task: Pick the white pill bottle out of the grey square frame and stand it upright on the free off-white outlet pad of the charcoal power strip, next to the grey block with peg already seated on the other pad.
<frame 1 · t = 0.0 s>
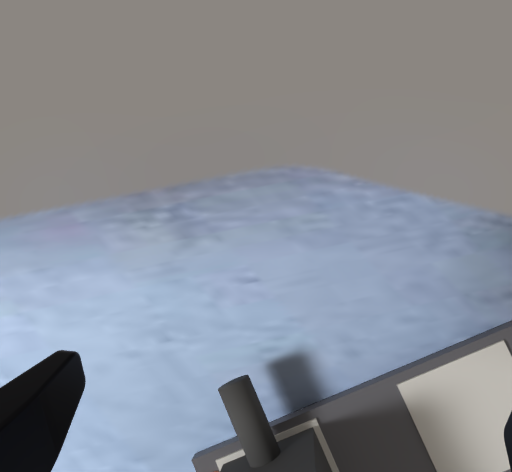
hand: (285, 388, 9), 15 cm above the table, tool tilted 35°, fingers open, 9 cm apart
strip: (377, 447, 23), on the table
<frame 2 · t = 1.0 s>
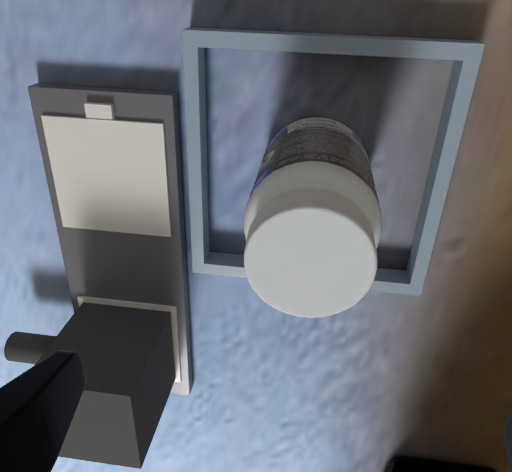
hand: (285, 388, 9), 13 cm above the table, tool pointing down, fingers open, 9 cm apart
grey square frame: (314, 167, 21), on the table
pill bottle: (314, 166, 21), resting in grey square frame
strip: (128, 259, 25), on the table
grey block with peg: (132, 339, 26), resting on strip
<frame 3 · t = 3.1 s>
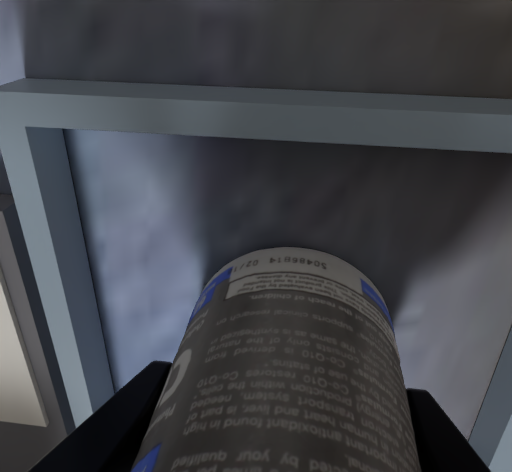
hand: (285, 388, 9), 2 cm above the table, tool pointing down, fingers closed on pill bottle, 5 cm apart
grey square frame: (291, 324, 11), on the table
pill bottle: (291, 319, 11), resting in grey square frame, touching gripper
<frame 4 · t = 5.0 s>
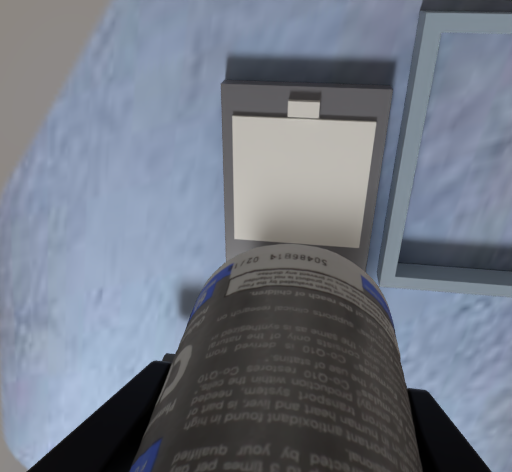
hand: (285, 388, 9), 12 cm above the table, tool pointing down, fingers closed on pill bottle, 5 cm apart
pill bottle: (292, 316, 11), point 10 cm above the table, touching gripper
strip: (294, 272, 22), on the table
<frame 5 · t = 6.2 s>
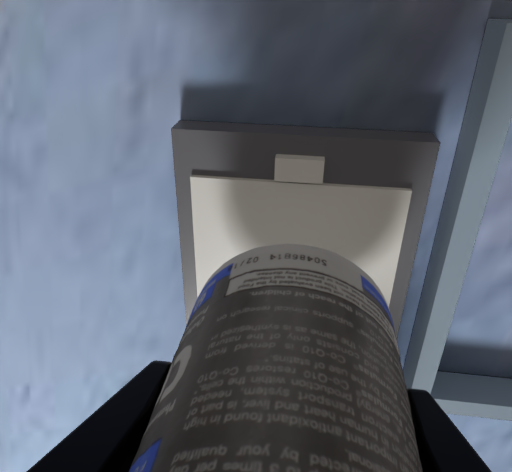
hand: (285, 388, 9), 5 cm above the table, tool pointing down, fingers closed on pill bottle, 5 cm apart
pill bottle: (291, 316, 11), point 3 cm above the table, touching gripper
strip: (286, 376, 16), on the table
when the fingers open (3 cm above the table, at t = 7.3 s): pill bottle stays where it is, resting on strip.
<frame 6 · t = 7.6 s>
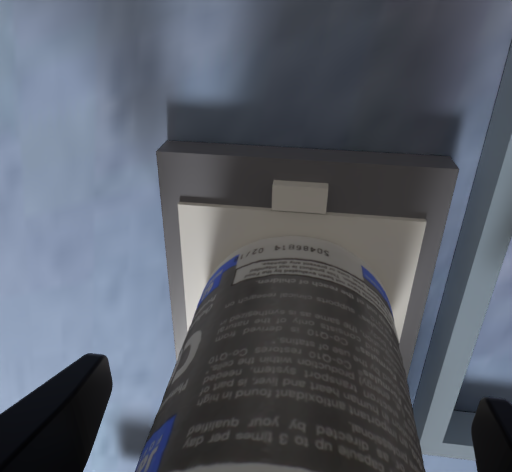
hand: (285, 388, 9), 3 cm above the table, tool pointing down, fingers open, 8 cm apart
pill bottle: (294, 306, 12), point 1 cm above the table, touching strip
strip: (285, 413, 15), on the table
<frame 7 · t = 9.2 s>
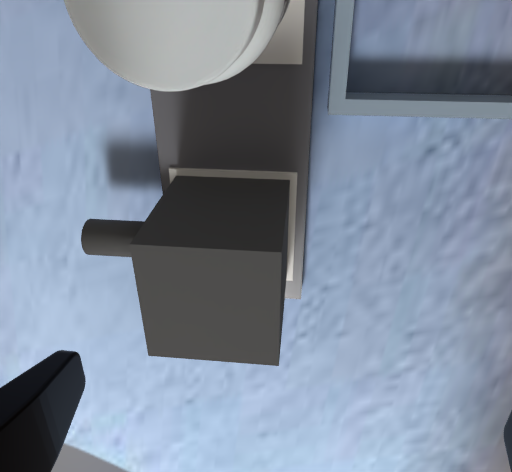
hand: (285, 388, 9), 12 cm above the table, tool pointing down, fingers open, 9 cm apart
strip: (233, 114, 19), on the table
grey block with peg: (234, 226, 21), resting on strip
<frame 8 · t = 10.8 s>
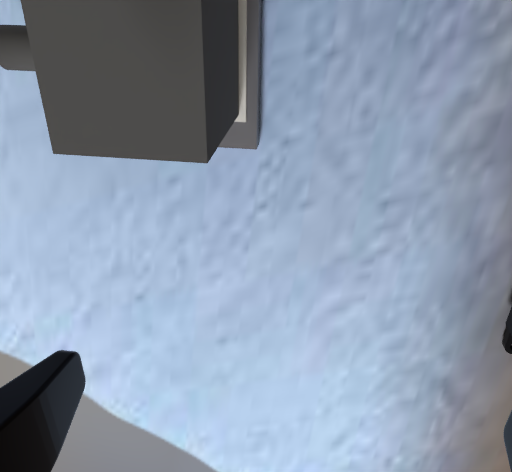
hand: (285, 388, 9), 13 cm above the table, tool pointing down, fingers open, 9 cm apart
grey block with peg: (177, 48, 18), resting on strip
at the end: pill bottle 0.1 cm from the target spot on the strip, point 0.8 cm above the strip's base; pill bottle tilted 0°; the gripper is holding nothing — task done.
